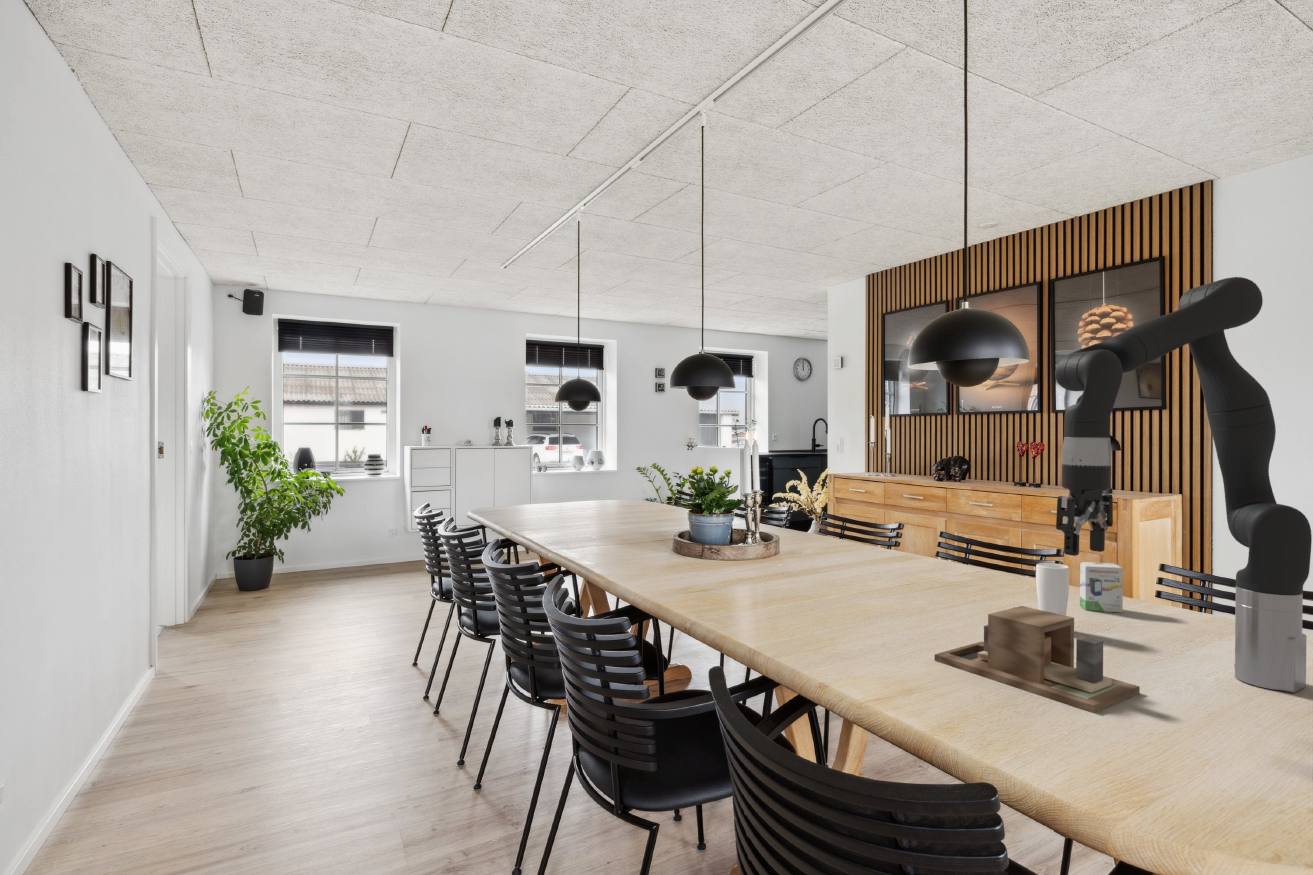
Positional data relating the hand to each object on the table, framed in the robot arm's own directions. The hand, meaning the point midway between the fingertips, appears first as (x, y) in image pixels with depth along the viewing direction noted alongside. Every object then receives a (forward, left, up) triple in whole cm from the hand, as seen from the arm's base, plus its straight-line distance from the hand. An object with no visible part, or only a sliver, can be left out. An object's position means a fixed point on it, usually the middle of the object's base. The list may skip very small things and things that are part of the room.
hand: (1084, 552), depth 122 cm
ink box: (+26, -62, -25) cm, 71 cm away
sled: (+7, +1, -23) cm, 24 cm away
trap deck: (+9, +1, -25) cm, 26 cm away
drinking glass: (+23, -33, -25) cm, 47 cm away
